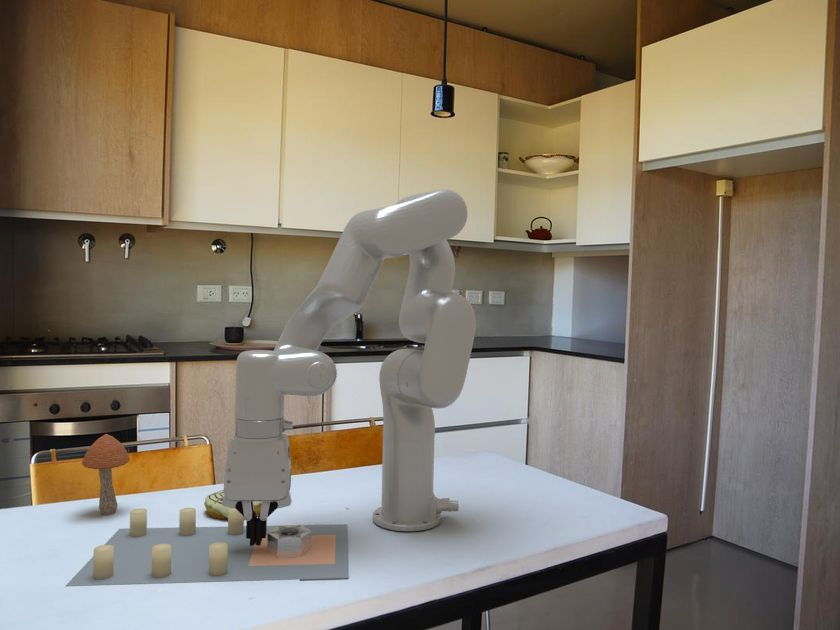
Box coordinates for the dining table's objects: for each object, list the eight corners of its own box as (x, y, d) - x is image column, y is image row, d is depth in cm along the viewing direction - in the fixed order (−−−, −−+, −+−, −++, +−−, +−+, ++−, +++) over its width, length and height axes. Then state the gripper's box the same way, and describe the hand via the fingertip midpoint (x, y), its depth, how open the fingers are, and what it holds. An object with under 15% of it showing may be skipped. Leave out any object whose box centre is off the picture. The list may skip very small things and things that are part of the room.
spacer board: (347, 525, 116) (347, 502, 116) (348, 578, 94) (348, 550, 94) (119, 529, 111) (119, 505, 111) (65, 587, 89) (65, 557, 89)
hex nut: (310, 542, 107) (311, 523, 107) (311, 556, 101) (312, 537, 101) (267, 544, 106) (268, 525, 106) (266, 559, 100) (266, 539, 100)
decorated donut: (230, 528, 114) (230, 506, 114) (192, 514, 120) (193, 494, 120) (274, 512, 122) (275, 492, 122) (238, 500, 129) (238, 482, 128)
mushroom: (81, 524, 113) (81, 439, 113) (81, 510, 120) (81, 430, 120) (130, 518, 117) (131, 436, 116) (128, 505, 124) (128, 427, 123)
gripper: (308, 424, 107) (304, 533, 108) (215, 423, 105) (212, 534, 106) (305, 433, 100) (302, 551, 100) (205, 432, 98) (202, 552, 98)
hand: (256, 542), depth 103 cm, fingers closed
